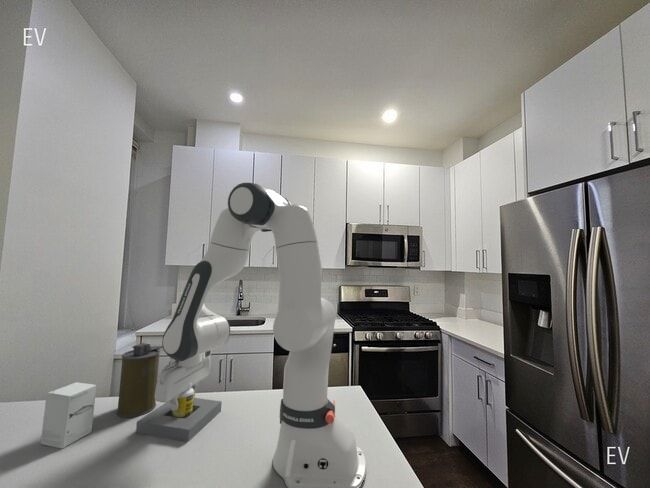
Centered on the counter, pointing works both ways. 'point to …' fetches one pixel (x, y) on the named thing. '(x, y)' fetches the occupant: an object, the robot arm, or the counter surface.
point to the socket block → (178, 420)
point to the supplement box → (68, 414)
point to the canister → (138, 381)
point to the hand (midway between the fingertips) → (183, 403)
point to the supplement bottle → (185, 403)
